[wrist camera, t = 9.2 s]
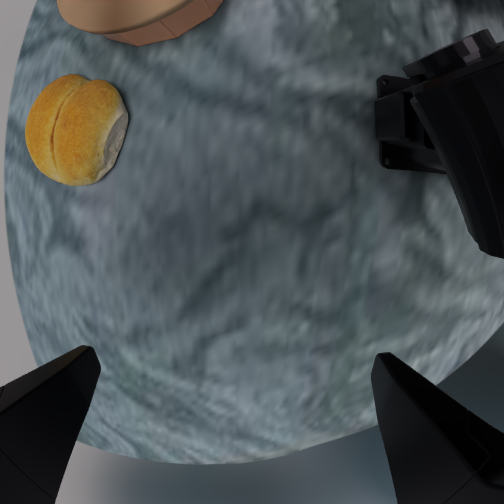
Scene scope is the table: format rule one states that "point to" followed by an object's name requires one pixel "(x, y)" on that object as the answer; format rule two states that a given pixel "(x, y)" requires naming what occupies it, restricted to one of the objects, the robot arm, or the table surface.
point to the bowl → (169, 24)
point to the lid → (117, 13)
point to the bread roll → (76, 129)
